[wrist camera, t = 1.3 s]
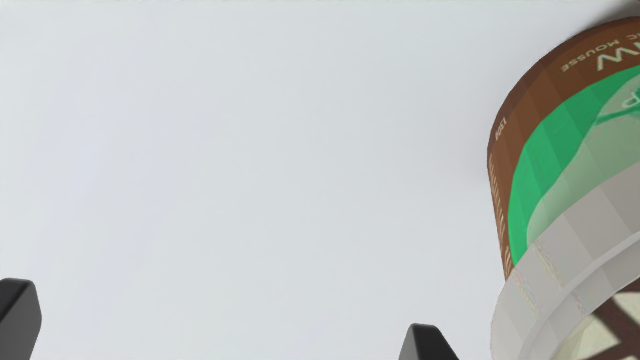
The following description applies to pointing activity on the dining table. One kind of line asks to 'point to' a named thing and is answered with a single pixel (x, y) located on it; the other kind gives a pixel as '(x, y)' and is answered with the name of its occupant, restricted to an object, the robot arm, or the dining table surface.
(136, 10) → the dining table surface
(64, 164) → the dining table surface
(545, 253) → the food container
